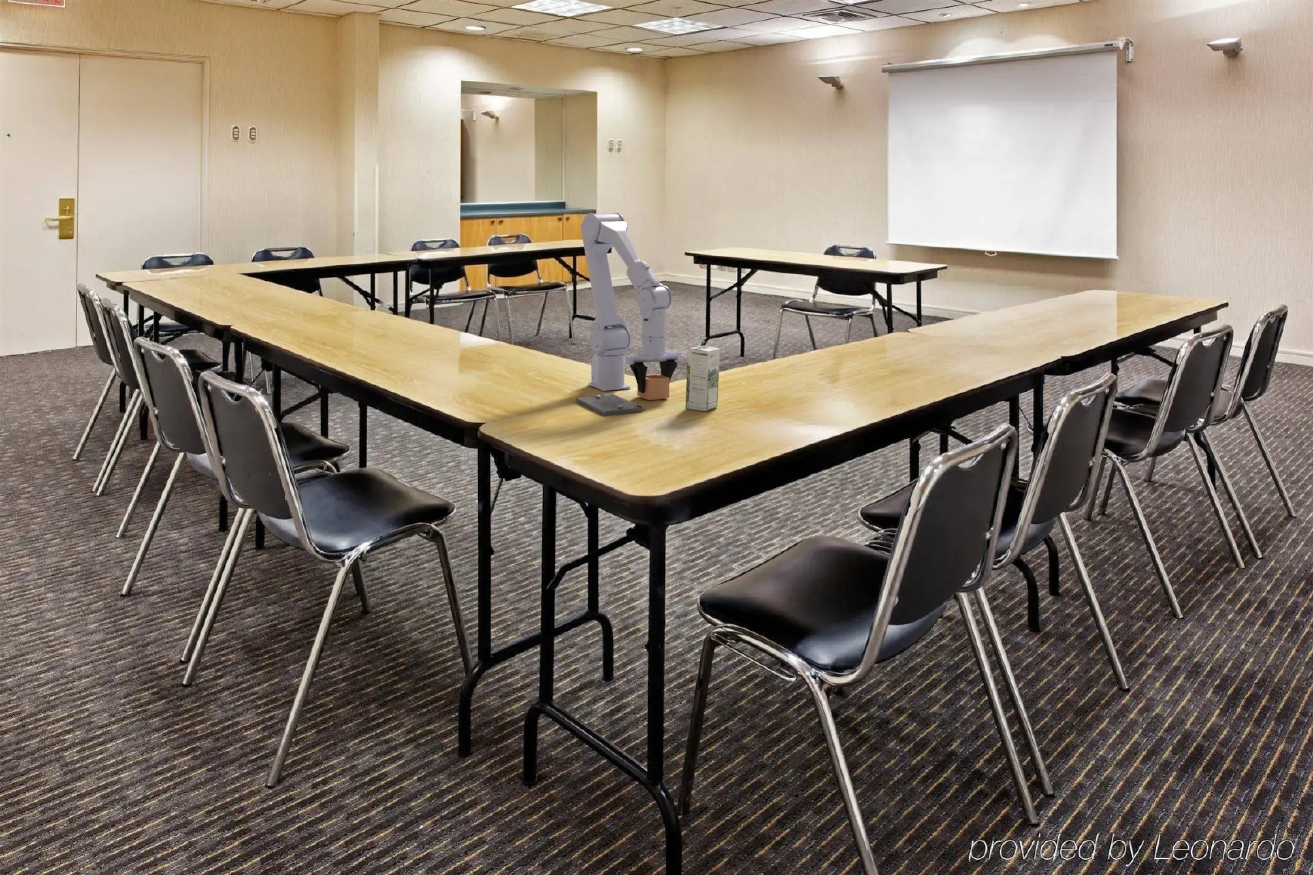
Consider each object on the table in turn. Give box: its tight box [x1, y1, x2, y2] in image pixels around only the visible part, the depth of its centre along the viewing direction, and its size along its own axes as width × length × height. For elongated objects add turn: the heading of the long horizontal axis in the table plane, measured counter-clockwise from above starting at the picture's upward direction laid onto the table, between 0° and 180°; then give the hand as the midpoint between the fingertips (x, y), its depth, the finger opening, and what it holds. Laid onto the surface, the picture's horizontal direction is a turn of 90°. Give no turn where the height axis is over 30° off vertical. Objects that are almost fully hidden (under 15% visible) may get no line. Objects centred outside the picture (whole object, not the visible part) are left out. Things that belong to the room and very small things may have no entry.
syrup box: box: [685, 345, 721, 412], centre depth 230 cm, size 6×6×14 cm
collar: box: [636, 373, 670, 401], centre depth 241 cm, size 6×6×5 cm
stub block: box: [575, 392, 645, 417], centre depth 232 cm, size 16×10×3 cm, turn 29°
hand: (653, 391), depth 242 cm, fingers closed on collar, 6 cm apart
